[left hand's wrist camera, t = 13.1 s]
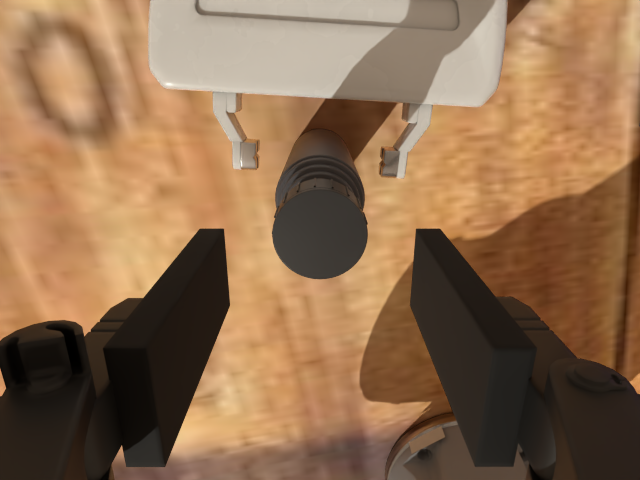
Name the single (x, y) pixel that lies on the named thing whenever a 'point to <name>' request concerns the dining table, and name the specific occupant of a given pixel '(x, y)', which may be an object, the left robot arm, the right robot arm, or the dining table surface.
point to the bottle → (320, 164)
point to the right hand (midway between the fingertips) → (318, 172)
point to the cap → (320, 229)
